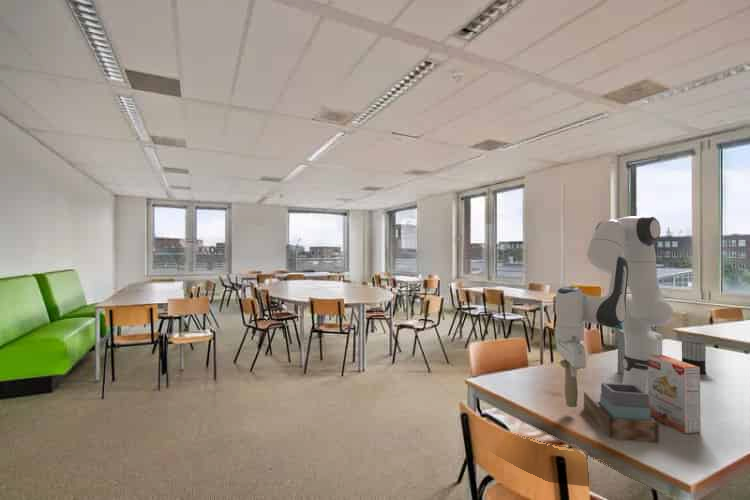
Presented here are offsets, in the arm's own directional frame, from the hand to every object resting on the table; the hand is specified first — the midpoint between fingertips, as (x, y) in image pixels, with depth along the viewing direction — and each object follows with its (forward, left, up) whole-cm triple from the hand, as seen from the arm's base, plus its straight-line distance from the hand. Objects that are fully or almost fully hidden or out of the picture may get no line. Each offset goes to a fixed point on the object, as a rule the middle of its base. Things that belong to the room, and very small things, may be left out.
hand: (570, 373), depth 129 cm
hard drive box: (-45, -52, -14) cm, 70 cm away
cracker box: (-31, +1, -14) cm, 34 cm away
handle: (0, 0, -11) cm, 12 cm away
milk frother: (-69, -65, -15) cm, 96 cm away
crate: (-13, +10, -13) cm, 20 cm away
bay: (-13, +5, -14) cm, 20 cm away
